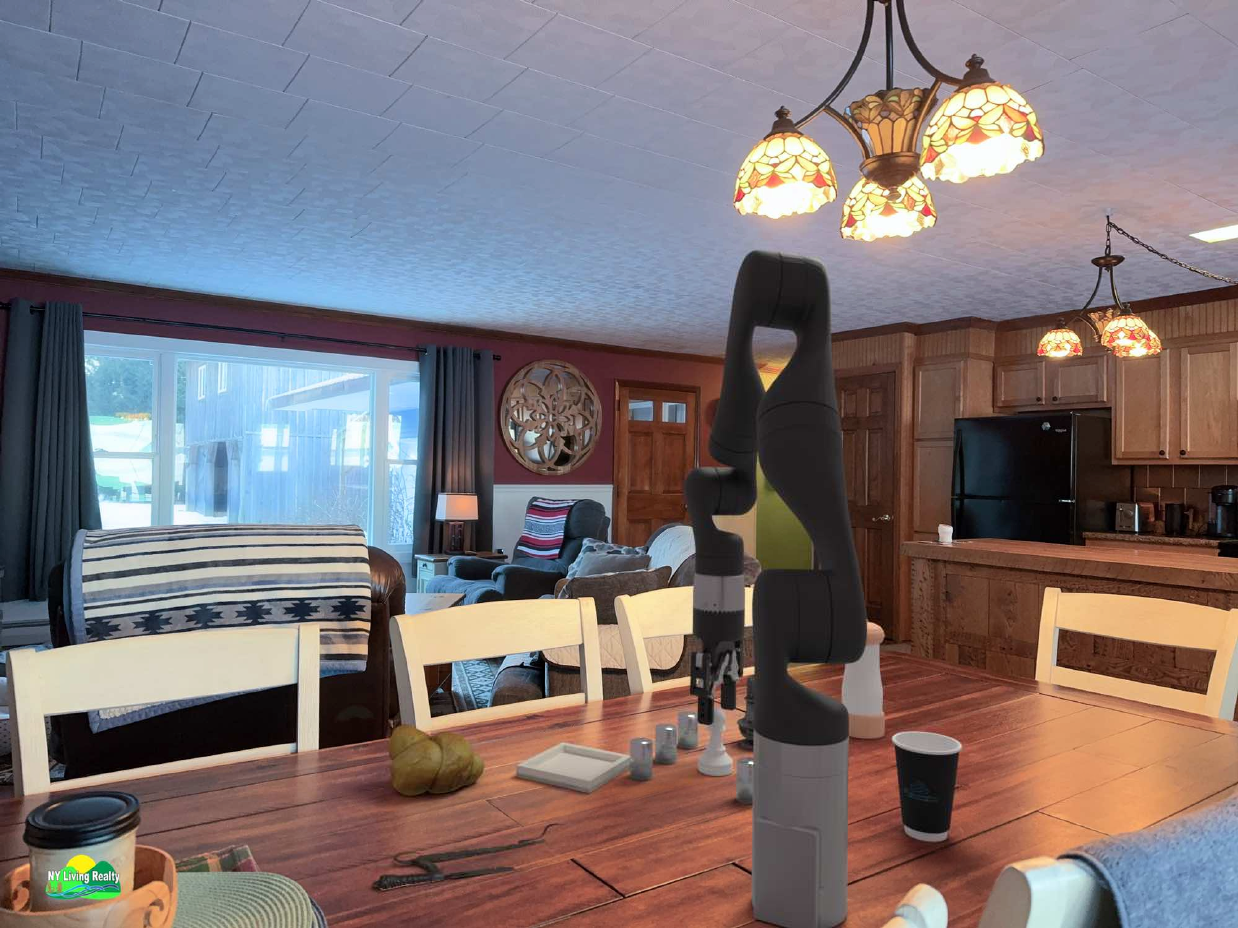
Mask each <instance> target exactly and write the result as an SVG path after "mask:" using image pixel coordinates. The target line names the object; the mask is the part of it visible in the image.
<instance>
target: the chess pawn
mask: <svg viewBox="0 0 1238 928" xmlns="http://www.w3.org/2000/svg"><path fill="white" fill-rule="evenodd" d="M726 721H727V715H726V712H725V711H724V709H722V708H721V707H720V708H719V707H714V723H713V724H711V725H706V728H705V730H706V731H708V732H710V737H709V742H708V745H706V746H705V752H703V753H702V754H701V755H700V756H699V757H698V759H697V761H698V765H697V766H698V767H697V769H698V771H699V772H700V773H701V774H703V775H706V776H710V777H725V776H729V775H730V774H732V773H733V772H734V765H733V764H734V759H733V758H732V757H731V756H730V755H729V754H728V753H727V752H726V751H727V748H726V746H725V745H724V744H723V738H722V737H723V736H722V733H724V732H726V730H727V728H726V727H725V726H724V724H725V723H726Z"/></svg>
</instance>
